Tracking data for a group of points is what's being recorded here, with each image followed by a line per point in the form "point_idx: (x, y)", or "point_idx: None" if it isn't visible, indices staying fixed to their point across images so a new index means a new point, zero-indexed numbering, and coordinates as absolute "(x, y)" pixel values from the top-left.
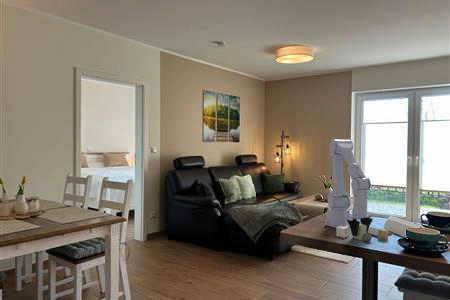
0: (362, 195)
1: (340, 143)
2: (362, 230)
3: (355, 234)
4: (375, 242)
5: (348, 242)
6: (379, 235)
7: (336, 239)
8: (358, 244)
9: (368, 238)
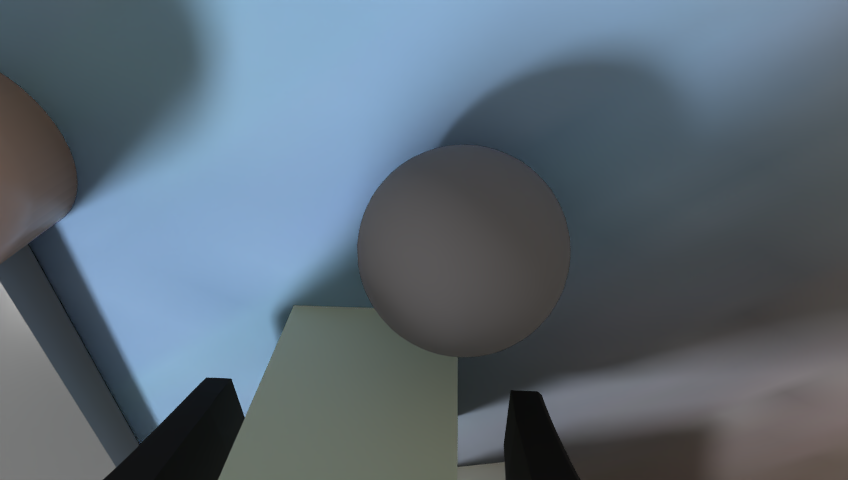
0: None
1: None
2: (387, 463)
3: (549, 430)
4: (332, 72)
5: (804, 324)
6: (8, 206)
7: (762, 464)
8: (813, 169)
9: (527, 174)
